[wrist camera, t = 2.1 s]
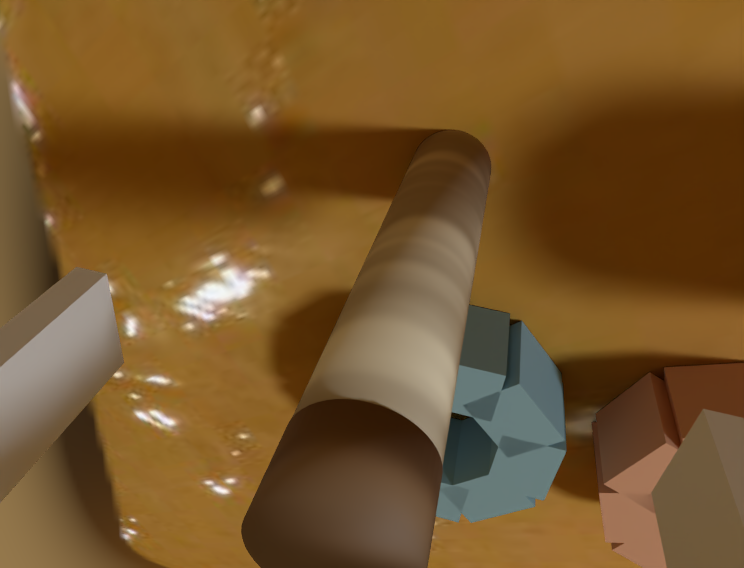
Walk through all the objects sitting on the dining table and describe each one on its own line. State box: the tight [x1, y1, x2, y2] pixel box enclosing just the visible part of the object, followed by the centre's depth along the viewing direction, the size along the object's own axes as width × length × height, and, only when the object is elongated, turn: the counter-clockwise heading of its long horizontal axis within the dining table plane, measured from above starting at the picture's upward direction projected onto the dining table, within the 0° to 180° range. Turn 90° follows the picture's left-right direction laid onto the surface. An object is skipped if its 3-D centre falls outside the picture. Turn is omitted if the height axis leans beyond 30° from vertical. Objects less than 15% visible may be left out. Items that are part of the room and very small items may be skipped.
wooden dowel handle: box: [241, 130, 491, 568], centre depth 16 cm, size 3×3×16 cm
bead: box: [436, 305, 567, 523], centre depth 27 cm, size 10×10×4 cm
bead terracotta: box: [592, 363, 744, 568], centre depth 25 cm, size 10×10×4 cm
